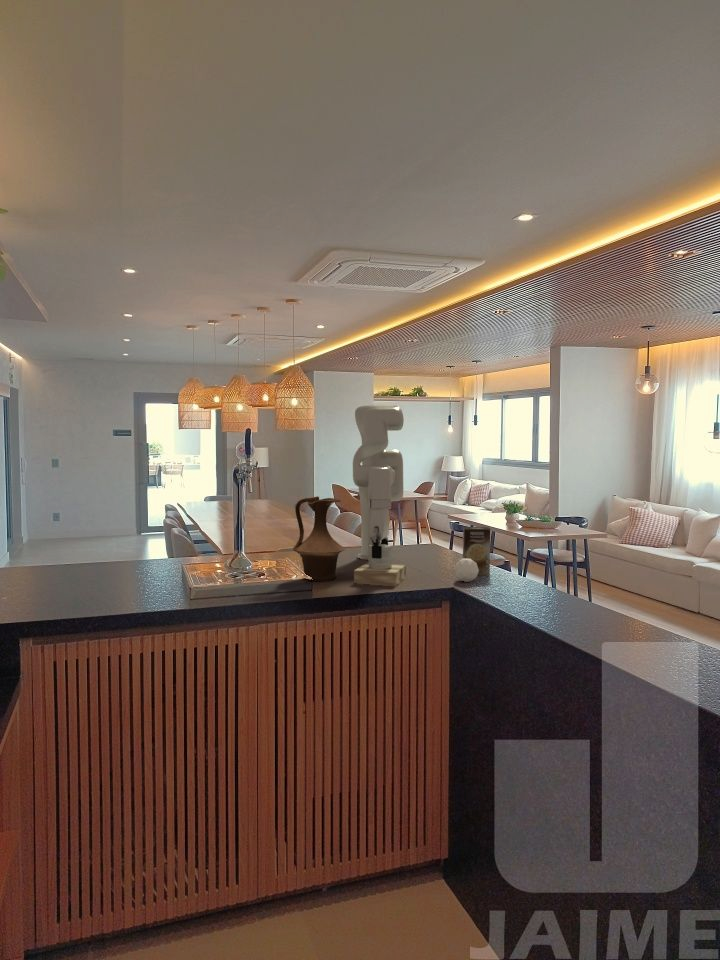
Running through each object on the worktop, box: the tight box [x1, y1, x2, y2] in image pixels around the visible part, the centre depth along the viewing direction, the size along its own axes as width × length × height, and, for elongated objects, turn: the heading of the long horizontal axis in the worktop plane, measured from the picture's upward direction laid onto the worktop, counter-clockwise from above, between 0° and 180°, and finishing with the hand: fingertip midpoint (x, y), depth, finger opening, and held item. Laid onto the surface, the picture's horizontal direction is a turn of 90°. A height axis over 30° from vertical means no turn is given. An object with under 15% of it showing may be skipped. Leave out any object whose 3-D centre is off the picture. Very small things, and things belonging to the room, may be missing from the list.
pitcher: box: [292, 496, 346, 582], centre depth 231 cm, size 18×17×28 cm
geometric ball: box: [454, 557, 479, 583], centre depth 225 cm, size 8×8×8 cm
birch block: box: [353, 562, 407, 587], centre depth 227 cm, size 14×14×5 cm
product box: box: [367, 544, 393, 570], centre depth 227 cm, size 6×6×7 cm
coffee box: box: [462, 526, 491, 576], centre depth 237 cm, size 9×6×16 cm
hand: (380, 555), depth 227 cm, fingers open, 9 cm apart
